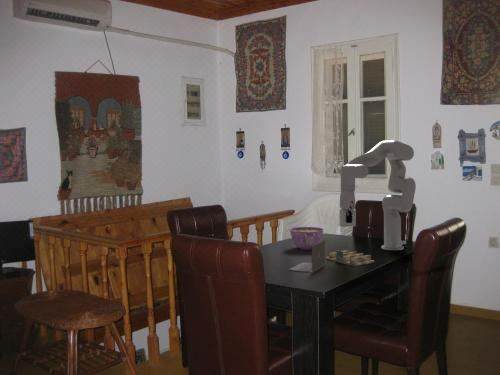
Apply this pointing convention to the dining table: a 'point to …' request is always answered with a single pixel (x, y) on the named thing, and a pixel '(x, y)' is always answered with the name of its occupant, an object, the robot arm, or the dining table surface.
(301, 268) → the laptop
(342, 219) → the grey rectangular block
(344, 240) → the dining table surface
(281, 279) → the dining table surface
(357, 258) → the bay rack
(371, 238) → the dining table surface
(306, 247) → the bowl of food
